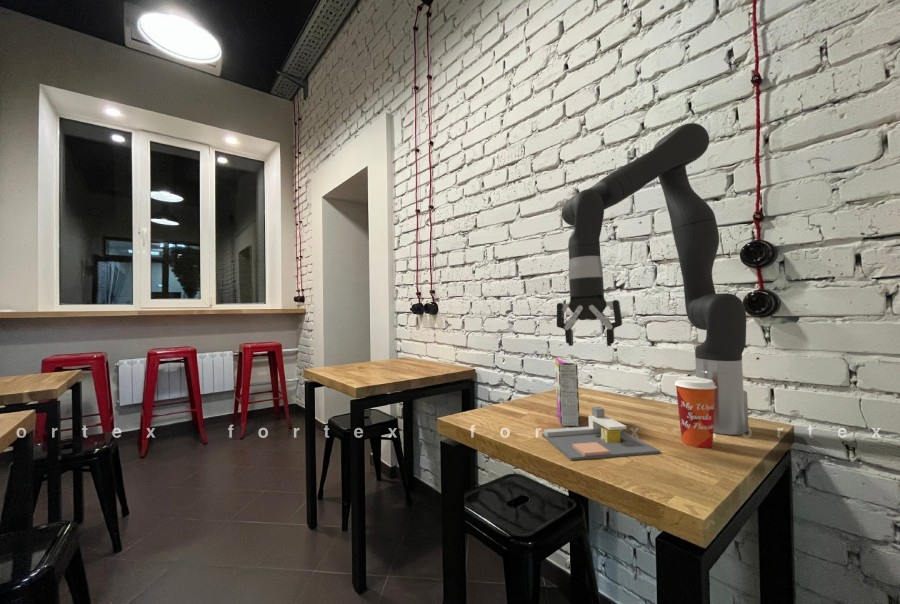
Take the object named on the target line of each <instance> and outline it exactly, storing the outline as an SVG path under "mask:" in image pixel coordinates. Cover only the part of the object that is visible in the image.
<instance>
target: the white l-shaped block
mask: <svg viewBox="0 0 900 604" xmlns="http://www.w3.org/2000/svg"><path fill="white" fill-rule="evenodd" d="M591 413H592V414H591V415H588V427H591V428H592V429H601V426H603V427H605V428H607V429H609V430H618V429H622V430H627V425H625V424H624V423H621V422H619V421H617V420H615V419H614V418H612V417H609V416H608V415H606V414H605V408H603V407H601V406H591Z"/></svg>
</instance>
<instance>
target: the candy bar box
mask: <svg viewBox="0 0 900 604" xmlns="http://www.w3.org/2000/svg"><path fill="white" fill-rule="evenodd" d="M554 369H555V392H556V393H555V394H556V414H557V417H558V420H559V422H560V423H559V424H560V426H561V427H566V428H575V427H581V426H580V425H581V424H580V422H581V421H580V404H579V403H580V402H579V401H580V400H579V398H580V397H579V378H578V377H579V376H578V375H579V374H578V373H579V372H578V363H577V362H576V361H575V360H574V359H573V358H572V357H563V356H561V357H555V358H554Z"/></svg>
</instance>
